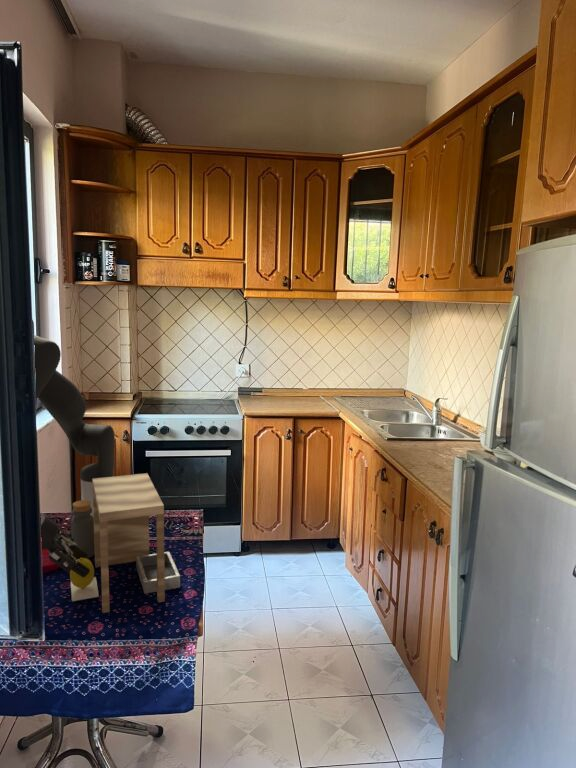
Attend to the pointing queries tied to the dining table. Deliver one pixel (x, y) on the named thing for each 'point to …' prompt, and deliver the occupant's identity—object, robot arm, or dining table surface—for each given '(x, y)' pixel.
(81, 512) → the bottle
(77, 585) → the lemon
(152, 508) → the small wooden table
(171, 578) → the open rectangular box
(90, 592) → the pad
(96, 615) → the dining table surface
